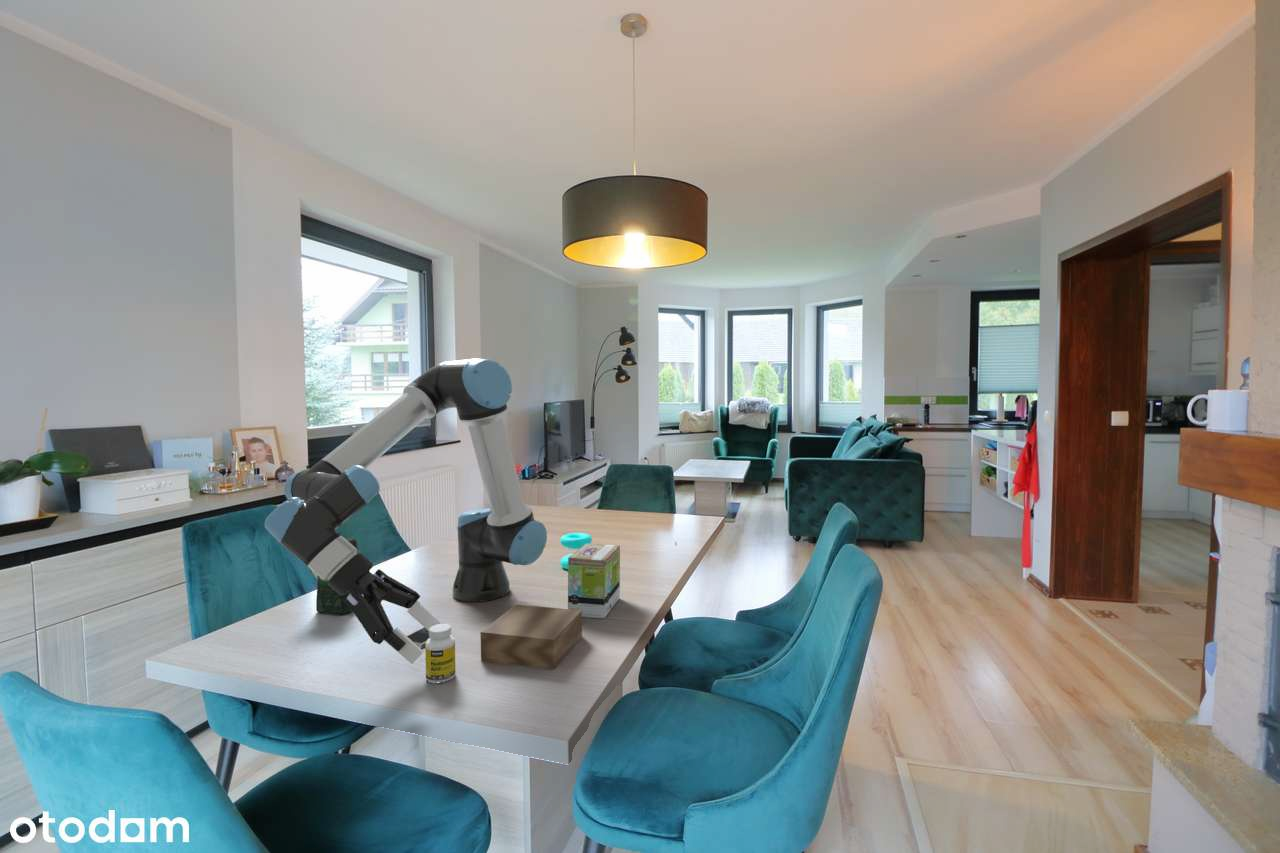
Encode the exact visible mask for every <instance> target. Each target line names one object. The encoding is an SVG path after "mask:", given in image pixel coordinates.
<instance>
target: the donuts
mask: <svg viewBox="0 0 1280 853" xmlns="http://www.w3.org/2000/svg"><path fill="white" fill-rule="evenodd" d="M592 543H593V538H592V536H591V535H590V534H588V533H583V532H573V533H567V534H564V535H562V536H561V538H560V544H561V545H562V546H563V547H564V548H567V549H570V550H571V549H572V550H579V549H580V548H581V547H582V546H584V545H585V544H592ZM572 554H573V553H570V554H567V555H565V556H563V557H562V558H561V560H560V566H561V567H562V568H563V569H565V570H568V558H569V557H570V556H571V555H572Z"/></svg>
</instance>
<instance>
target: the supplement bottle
mask: <svg viewBox="0 0 1280 853" xmlns="http://www.w3.org/2000/svg"><path fill="white" fill-rule="evenodd" d="M429 637H430V638H429V639H428V640H427V641H426V644H425V646H424V648H425V649H424V650H425V653H424V654H425V679H427V680H428V681H430V682H434V683H433V684H438V683H437V682H443V683H446V682H445V681H447V682H449V681H450V679H451V680H452V679H453V678H454V677H455V676H456V639H455V638H454V636H452V626H451V624H448V623H441V624H437V625H434V626H432V627H430V628H429ZM427 680H426V681H427ZM448 680H449V681H448ZM428 681H427V682H428ZM430 682H429V683H430Z"/></svg>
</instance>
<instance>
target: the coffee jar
mask: <svg viewBox="0 0 1280 853" xmlns="http://www.w3.org/2000/svg"><path fill="white" fill-rule="evenodd" d="M344 538H345V539H346V540H347V541H348V542H350V543H351V544H352V545H353V546H354V547H355V548H356V549H357V551H356V553H357V554H358V553H359V548H358V542H357V540H356V539H355V538H351V537H350V538H348V537H347V538H346V537H344ZM316 576H317V579H316V580H317V582H316V583H317V584H316V603H315V604H316V608H315V609H316V612H317V613H318V614H322V615H334V616H335V615H344V614H348V613H352V612H353V611H352V610H351V609H350V608H349V607H348V606H347V605H346V604H345V603H344V600H345V599H346V598H347V597H348V596H349V595H350V593H349V592H347V593H345V594H344V595H339V594H338V593H337V592H336V591H335V590H333V589H332V588H331V587H330V586H329V585H328V581H329V580H328V579H326V580H323V579H321V578H320V577H319V576H318V575H317V574H316Z"/></svg>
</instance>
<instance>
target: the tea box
mask: <svg viewBox="0 0 1280 853" xmlns="http://www.w3.org/2000/svg"><path fill="white" fill-rule="evenodd" d="M571 554H572V555H571V556H570V557H569V558H568V569H567V571H568V572H567V609H573V610H582V618H591V619H605V618H606V617H607V616H608V614H609V613H610V612H611V610H612V608H613V607H614V606H615V605H616V603H617V602H618V600H619V599H620V595H621V591H620V588H621V584H620V583H621V579H620V578H621V576H620V575H621V574H620V573H621V545H616V544H615V545H614V544H602V543H601V544H599V543H591V544H585V545H584V546H582V547H581V548H580V549H576V550H575V552H573V553H571Z"/></svg>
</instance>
